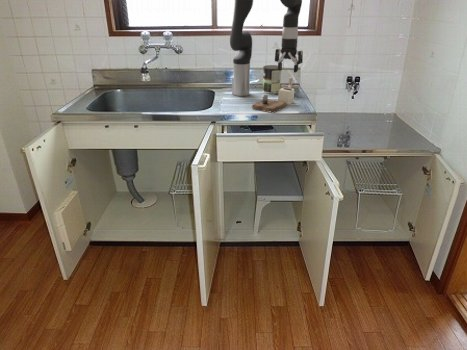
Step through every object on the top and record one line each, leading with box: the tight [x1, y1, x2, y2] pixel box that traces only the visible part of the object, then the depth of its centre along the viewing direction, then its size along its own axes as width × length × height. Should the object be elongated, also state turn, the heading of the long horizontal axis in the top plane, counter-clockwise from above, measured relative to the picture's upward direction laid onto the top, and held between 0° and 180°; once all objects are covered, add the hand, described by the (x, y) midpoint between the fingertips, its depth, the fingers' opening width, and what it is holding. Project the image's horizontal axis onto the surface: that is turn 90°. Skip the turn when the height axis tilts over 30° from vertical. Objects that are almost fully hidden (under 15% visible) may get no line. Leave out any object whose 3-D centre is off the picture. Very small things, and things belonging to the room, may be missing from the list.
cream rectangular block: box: [277, 88, 295, 106], centre depth 180 cm, size 6×6×8 cm
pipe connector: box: [280, 76, 300, 89], centre depth 193 cm, size 10×10×10 cm
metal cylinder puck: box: [261, 94, 269, 104], centre depth 174 cm, size 3×3×4 cm
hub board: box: [251, 98, 287, 113], centre depth 175 cm, size 12×13×2 cm
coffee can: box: [262, 64, 282, 95], centre depth 200 cm, size 10×10×14 cm
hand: (287, 71), depth 175 cm, fingers open, 8 cm apart
